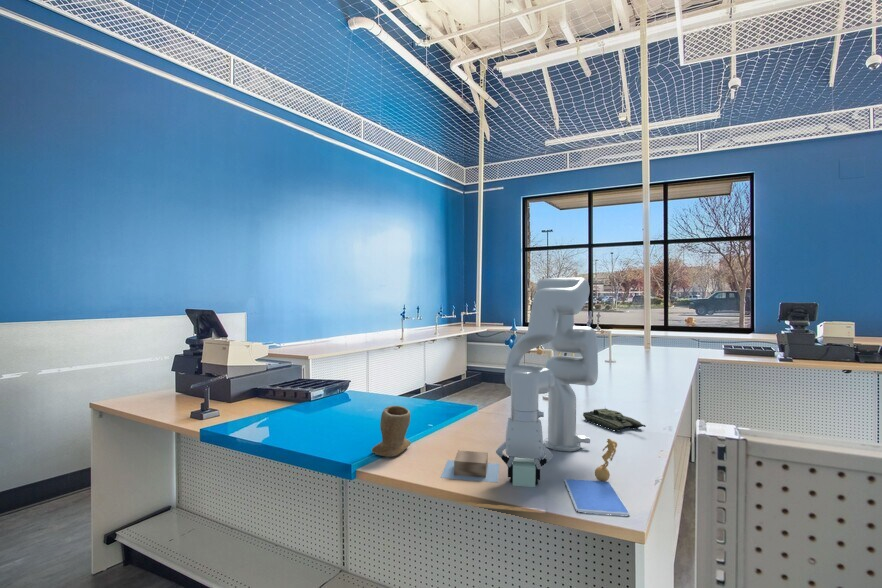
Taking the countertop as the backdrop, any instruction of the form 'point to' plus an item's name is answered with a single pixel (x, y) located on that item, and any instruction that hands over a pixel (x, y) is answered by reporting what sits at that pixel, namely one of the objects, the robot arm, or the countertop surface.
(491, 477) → the light blue mat
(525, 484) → the sage cube
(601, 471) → the figurine
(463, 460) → the walnut base block
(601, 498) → the tablet computer
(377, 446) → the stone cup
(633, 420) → the toy tank
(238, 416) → the countertop surface
